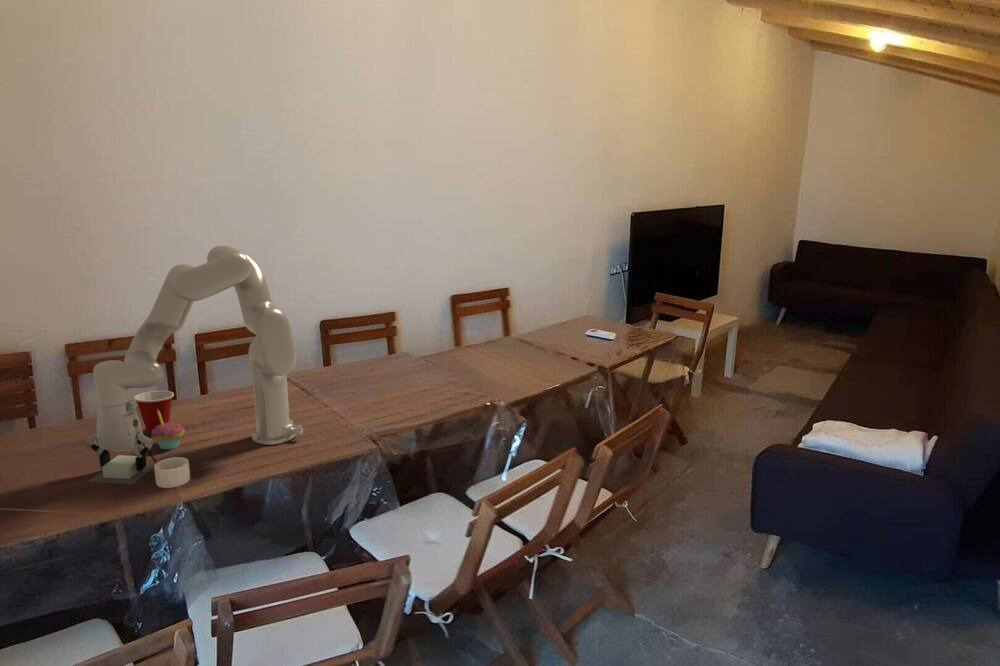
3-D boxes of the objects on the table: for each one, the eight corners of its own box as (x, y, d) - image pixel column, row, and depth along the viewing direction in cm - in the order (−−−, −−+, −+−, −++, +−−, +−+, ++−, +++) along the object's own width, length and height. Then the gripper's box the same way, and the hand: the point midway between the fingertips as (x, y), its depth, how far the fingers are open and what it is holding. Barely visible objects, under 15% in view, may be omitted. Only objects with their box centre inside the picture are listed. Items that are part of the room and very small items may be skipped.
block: (144, 466, 180) (143, 456, 179) (129, 478, 174) (128, 468, 173) (119, 465, 181) (118, 455, 180) (103, 477, 174) (101, 467, 173)
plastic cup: (185, 425, 208) (181, 389, 205) (165, 439, 198) (160, 401, 195) (152, 423, 209) (148, 387, 206) (130, 437, 199) (125, 399, 196)
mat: (158, 464, 183) (158, 462, 183) (133, 485, 171) (133, 483, 171) (116, 462, 183) (116, 460, 183) (88, 483, 172) (87, 481, 172)
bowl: (196, 475, 177) (194, 457, 176) (180, 489, 170) (178, 472, 168) (166, 473, 178) (164, 456, 176) (150, 488, 170) (147, 470, 169)
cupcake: (153, 455, 188) (148, 415, 185) (152, 443, 195) (148, 405, 192) (186, 449, 192) (182, 410, 188) (185, 438, 199) (181, 400, 196)
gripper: (156, 404, 175) (163, 463, 180) (92, 401, 176) (101, 460, 181) (139, 415, 168) (147, 476, 173) (73, 412, 169) (83, 473, 174)
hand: (123, 468), depth 177 cm, fingers open, 9 cm apart
